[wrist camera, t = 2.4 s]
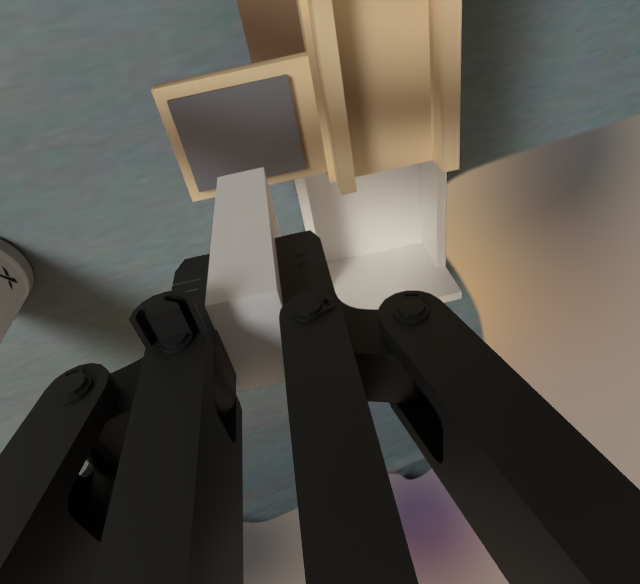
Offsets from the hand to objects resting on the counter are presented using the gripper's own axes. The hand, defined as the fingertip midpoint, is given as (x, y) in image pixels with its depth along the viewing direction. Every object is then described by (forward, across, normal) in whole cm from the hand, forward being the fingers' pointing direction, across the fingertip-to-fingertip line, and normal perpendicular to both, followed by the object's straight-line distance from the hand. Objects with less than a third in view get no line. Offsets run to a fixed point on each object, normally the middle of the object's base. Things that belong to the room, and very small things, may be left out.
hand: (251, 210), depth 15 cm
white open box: (+15, +6, -8) cm, 19 cm away
